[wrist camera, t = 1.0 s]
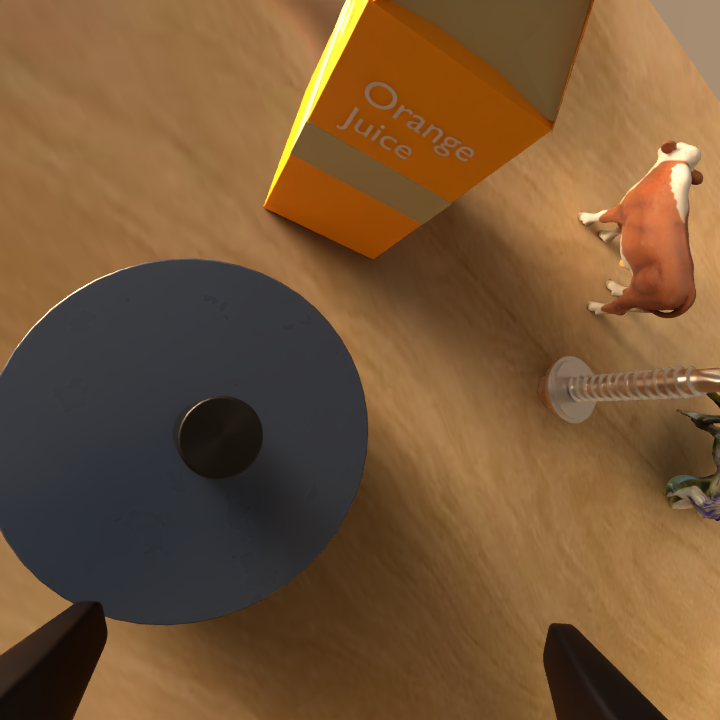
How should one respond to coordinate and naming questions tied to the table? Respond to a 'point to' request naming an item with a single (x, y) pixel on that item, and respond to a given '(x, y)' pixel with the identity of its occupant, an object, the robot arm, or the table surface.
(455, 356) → the table surface
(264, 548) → the lid
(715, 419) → the passion flower
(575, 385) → the screw
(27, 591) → the table surface
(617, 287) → the bull figurine
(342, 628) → the table surface
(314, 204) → the orange juice
